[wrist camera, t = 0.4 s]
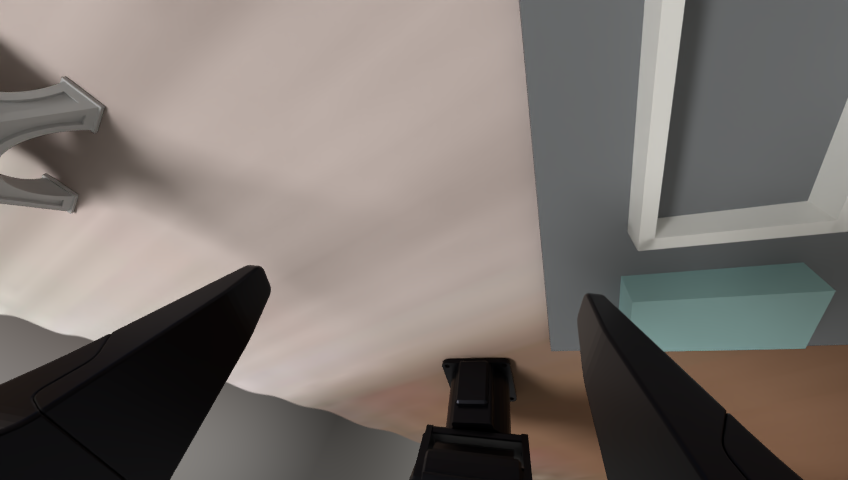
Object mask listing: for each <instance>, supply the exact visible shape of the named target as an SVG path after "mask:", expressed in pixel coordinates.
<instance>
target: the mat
mask: <svg viewBox="0 0 848 480" xmlns="http://www.w3.org/2000/svg"><path fill="white" fill-rule="evenodd" d="M644 3H645V0H519V5H520V16H521V27H522V38H523V49H524V60H525V71H526V82H527V93H528V104H529V115H530V126H531V137H532V148H533V159H534V170H535V181H536V192H537V203H538V214H539V225H540V236H541V247H542V258H543V269H544V280H545V291H546V302H547V313H548V324H549V335H550V345H551V351H579V350H580V344H579V335H578V327H577V317H578V313H579V310H580V306H581V303H582V300H583V297H584V295H585V294H587V293H594V294H602V295H604V296H605V297H606V298H608V299H609V300H610V301H611V302H612V303H613V304H614V305H615V306H616V307H617V308H618V309H619V298H620V284H621V276H630V275H644V274H657V273H670V272H683V271H696V270H709V269H723V268H736V267H749V266H762V265H775V264H789V263H802V262H803V263H805V264H806V265H807V266H808V267H809V268H810V269H811V270H813V271H814V272H815V273H816V274H817V275H818V276H819V277H821V278H822V279H823V280H824V281H825V282H826V283H827V284H829V285H830V286H831V287H832V288H833V289H834V290H835V293H834V295H833V297H832V299H831V301H830V303H829V305H828V307H827V308H826V310H825V312H824V314H823V316H822V318H821V320H820V322H819V324H818V326H817V327H816V329H815V331H814V333H813V335H812V337H811V339H810V341H809V343H808V345H807V346H814V345H848V232H838V233H827V234H816V235H806V236H795V237H784V238H773V239H763V240H752V241H741V242H731V243H720V244H709V245H698V246H688V247H677V248H666V249H655V250H645V251H638V250H637V249H636V247H635V245H634V243H633V241H632V239H631V238H630V236H629V234H628V218H629V205H630V192H631V178H632V165H633V151H634V138H635V124H636V111H637V97H638V84H639V70H640V57H641V44H642V30H643V17H644ZM847 99H848V0H685V7H684V14H683V22H682V30H681V38H680V46H679V53H678V61H677V69H676V77H675V85H674V93H673V100H672V108H671V116H670V124H669V132H668V140H667V147H666V155H665V163H664V171H663V179H662V187H661V194H660V202H659V210H658V218H664V217H672V216H681V215H690V214H698V213H707V212H716V211H724V210H733V209H742V208H750V207H759V206H767V205H776V204H785V203H793V202H802V201H808V199H809V196H810V193H811V191H812V188H813V186H814V183H815V181H816V178H817V176H818V173H819V171H820V168H821V165H822V163H823V160H824V158H825V155H826V153H827V150H828V148H829V145H830V142H831V140H832V137H833V135H834V132H835V130H836V127H837V125H838V122H839V119H840V117H841V114H842V112H843V109H844V107H845V104H846V102H847Z"/></svg>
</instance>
